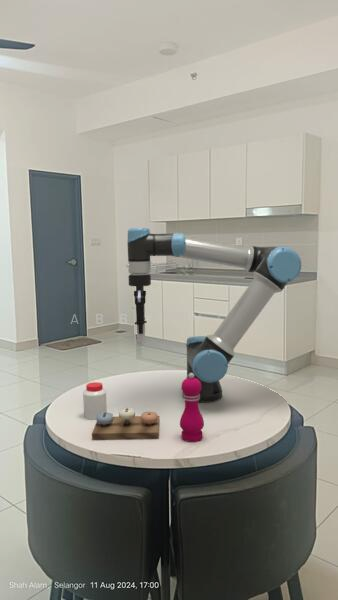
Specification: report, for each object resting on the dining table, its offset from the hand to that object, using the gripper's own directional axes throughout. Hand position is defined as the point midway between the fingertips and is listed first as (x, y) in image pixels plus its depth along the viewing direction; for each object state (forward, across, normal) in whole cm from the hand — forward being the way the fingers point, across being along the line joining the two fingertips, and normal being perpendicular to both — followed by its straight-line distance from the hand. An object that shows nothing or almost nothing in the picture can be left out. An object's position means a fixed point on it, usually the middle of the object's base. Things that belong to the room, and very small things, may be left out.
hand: (141, 342), depth 167 cm
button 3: (+24, +17, -11) cm, 31 cm away
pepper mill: (+25, +24, +16) cm, 38 cm away
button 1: (+24, +18, +3) cm, 29 cm away
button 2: (+22, +18, -4) cm, 28 cm away
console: (+24, +18, -4) cm, 30 cm away
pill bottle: (+25, +4, -16) cm, 30 cm away
